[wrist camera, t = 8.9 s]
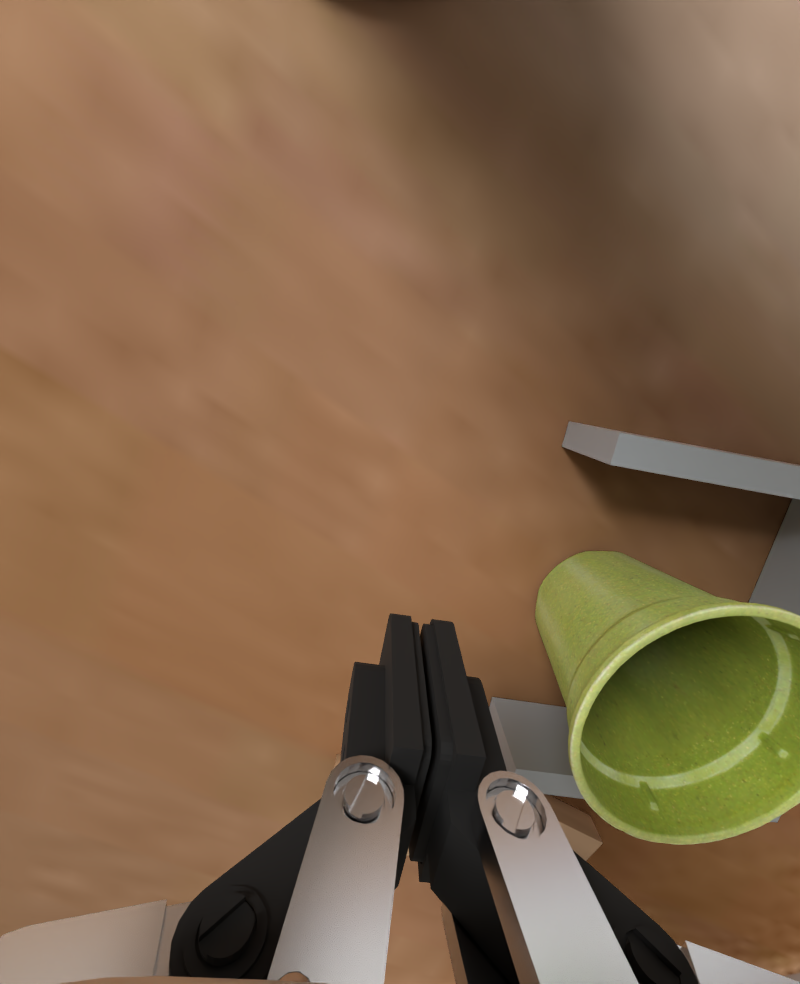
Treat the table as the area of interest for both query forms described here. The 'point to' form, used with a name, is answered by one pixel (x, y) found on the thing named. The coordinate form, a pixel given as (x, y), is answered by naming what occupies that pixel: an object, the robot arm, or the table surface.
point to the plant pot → (673, 699)
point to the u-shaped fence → (782, 583)
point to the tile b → (576, 828)
